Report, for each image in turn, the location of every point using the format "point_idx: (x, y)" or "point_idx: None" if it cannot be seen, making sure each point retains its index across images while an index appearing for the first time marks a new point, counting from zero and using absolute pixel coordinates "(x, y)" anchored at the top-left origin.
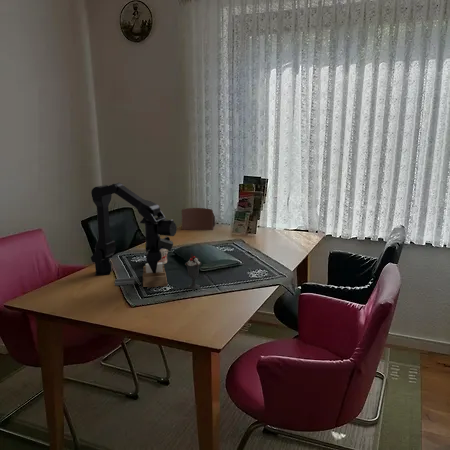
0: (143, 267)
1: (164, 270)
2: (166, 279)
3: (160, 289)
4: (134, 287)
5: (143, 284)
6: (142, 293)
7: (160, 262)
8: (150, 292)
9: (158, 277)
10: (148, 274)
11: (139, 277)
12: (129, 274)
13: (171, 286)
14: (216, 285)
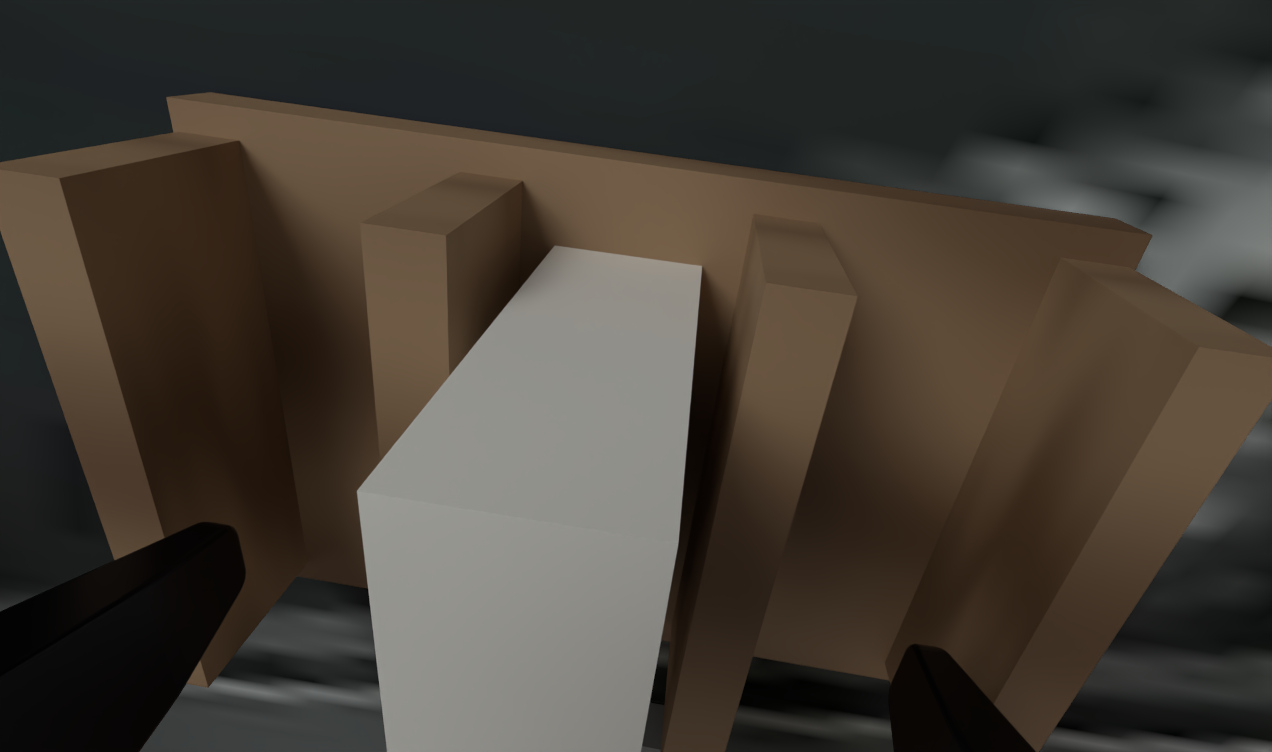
0: (213, 677)
1: (467, 229)
2: (818, 197)
3: None
4: (820, 730)
5: (876, 670)
6: (1171, 700)
7: (372, 562)
8: (1230, 599)
9: (1143, 559)
10: (735, 691)
11: None
12: (228, 679)
13: (1227, 124)
14: None
